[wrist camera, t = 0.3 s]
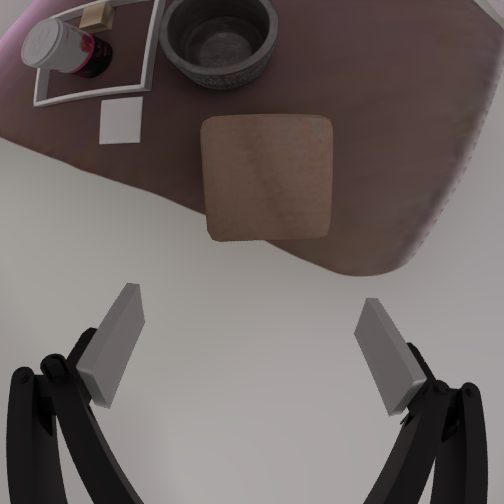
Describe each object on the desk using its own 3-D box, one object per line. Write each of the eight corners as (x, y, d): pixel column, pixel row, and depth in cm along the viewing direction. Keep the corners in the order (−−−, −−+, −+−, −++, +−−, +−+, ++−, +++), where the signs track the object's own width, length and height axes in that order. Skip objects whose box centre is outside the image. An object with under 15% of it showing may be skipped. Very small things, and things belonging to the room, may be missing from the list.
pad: (103, 100, 33) (101, 100, 33) (143, 97, 34) (142, 96, 33) (100, 144, 36) (99, 144, 36) (140, 142, 36) (139, 142, 36)
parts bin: (58, 21, 25) (49, 17, 22) (167, -5, 26) (162, -13, 24) (43, 106, 32) (33, 106, 29) (151, 90, 33) (144, 88, 31)
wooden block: (225, 192, 40) (207, 247, 22) (221, 124, 36) (197, 116, 18) (293, 190, 40) (332, 242, 22) (292, 122, 36) (336, 115, 18)
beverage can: (120, 46, 30) (68, 19, 16) (100, 82, 32) (41, 70, 18) (91, 38, 28) (37, 15, 14) (72, 72, 30) (13, 62, 17)
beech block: (95, 14, 26) (84, 8, 23) (116, 9, 26) (105, 1, 23) (90, 34, 28) (78, 28, 24) (111, 29, 28) (100, 22, 24)
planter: (254, 103, 35) (258, 89, 23) (172, 84, 33) (141, 66, 21) (280, 32, 30) (294, -5, 18) (199, 14, 28) (181, -25, 17)
